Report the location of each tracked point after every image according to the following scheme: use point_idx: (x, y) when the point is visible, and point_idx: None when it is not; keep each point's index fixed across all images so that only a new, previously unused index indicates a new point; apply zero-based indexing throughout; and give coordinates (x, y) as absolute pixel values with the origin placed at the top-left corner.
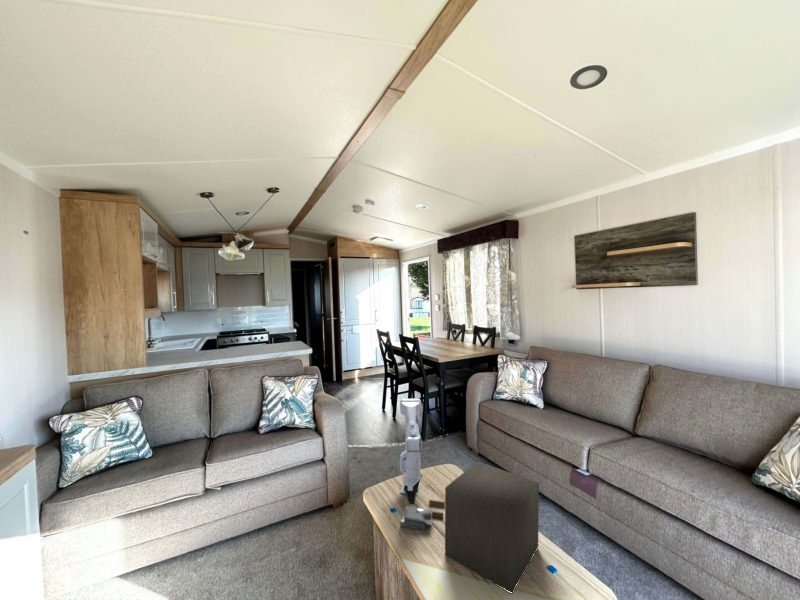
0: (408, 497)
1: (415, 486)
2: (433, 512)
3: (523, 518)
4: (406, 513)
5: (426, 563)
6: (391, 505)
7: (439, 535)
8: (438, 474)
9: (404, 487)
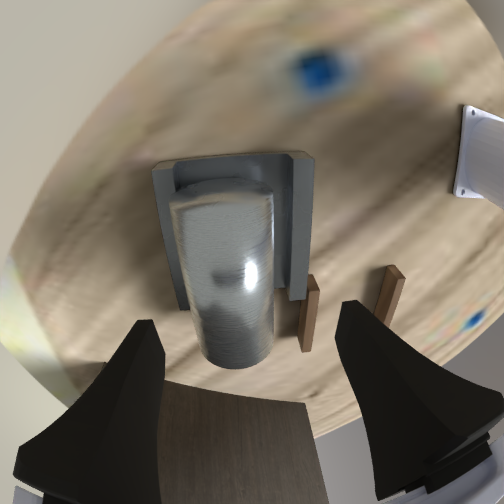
0: (109, 377)
1: (364, 381)
2: (306, 318)
3: None
4: (178, 225)
5: (41, 320)
6: (359, 53)
7: (182, 342)
8: None
9: (26, 481)
